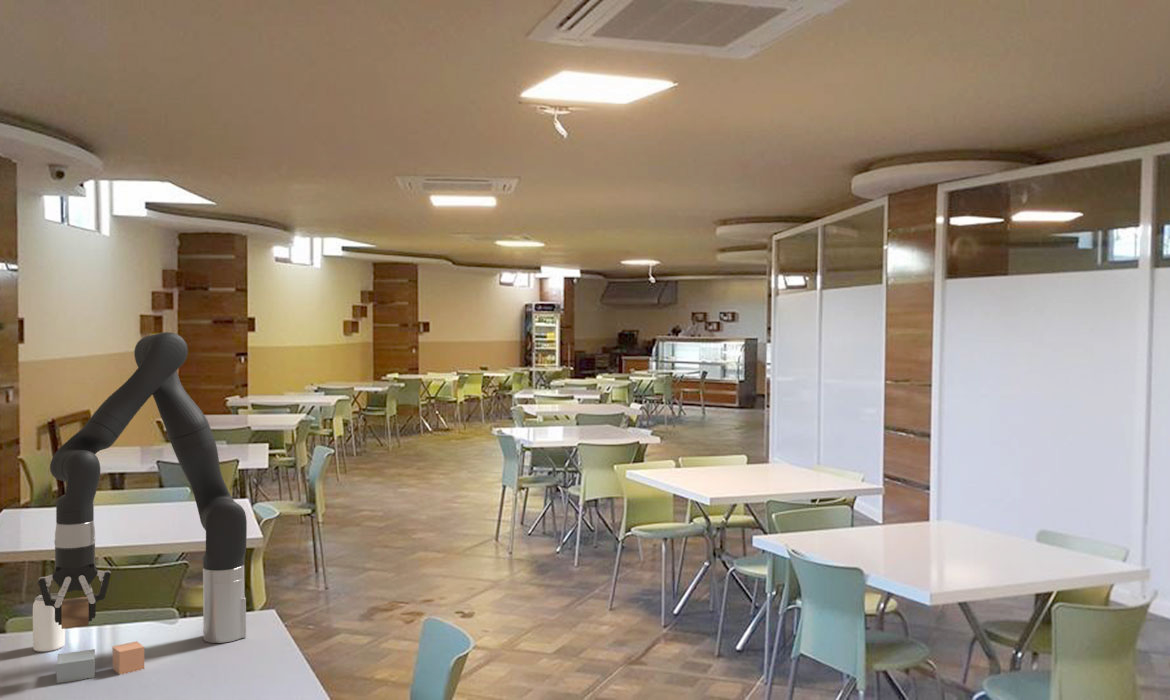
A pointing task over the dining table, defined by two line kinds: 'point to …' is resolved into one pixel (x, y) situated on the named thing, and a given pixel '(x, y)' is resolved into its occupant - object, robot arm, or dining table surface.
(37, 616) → the can
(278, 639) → the dining table surface
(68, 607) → the walnut cube
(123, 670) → the terracotta cube
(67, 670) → the base block
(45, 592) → the robot arm
